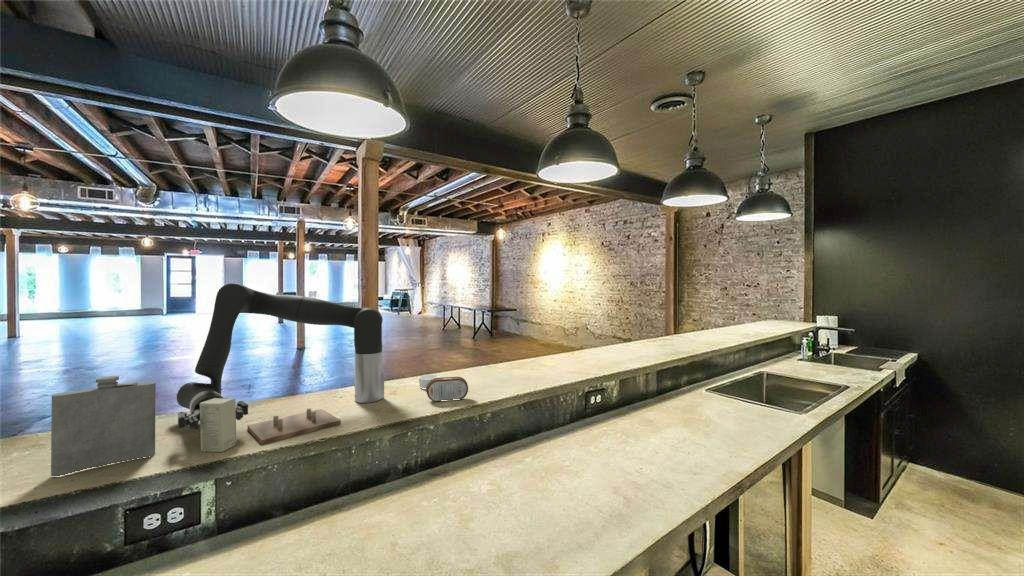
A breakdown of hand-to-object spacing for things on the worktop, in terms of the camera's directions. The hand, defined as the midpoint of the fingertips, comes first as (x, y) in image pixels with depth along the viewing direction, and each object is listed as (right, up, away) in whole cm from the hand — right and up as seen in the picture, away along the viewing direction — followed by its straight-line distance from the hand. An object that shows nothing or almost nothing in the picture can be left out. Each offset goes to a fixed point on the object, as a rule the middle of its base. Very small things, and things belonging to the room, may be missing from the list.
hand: (218, 420), depth 92 cm
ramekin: (+40, -8, +58) cm, 71 cm away
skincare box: (0, -7, 0) cm, 7 cm away
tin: (+50, -8, +40) cm, 65 cm away
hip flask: (-19, -7, -8) cm, 22 cm away
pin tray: (+10, -7, +15) cm, 20 cm away
